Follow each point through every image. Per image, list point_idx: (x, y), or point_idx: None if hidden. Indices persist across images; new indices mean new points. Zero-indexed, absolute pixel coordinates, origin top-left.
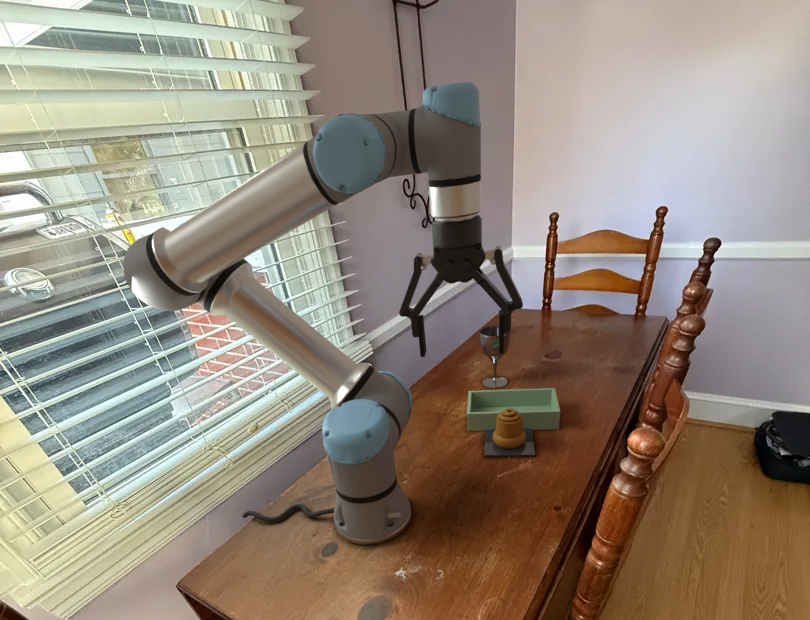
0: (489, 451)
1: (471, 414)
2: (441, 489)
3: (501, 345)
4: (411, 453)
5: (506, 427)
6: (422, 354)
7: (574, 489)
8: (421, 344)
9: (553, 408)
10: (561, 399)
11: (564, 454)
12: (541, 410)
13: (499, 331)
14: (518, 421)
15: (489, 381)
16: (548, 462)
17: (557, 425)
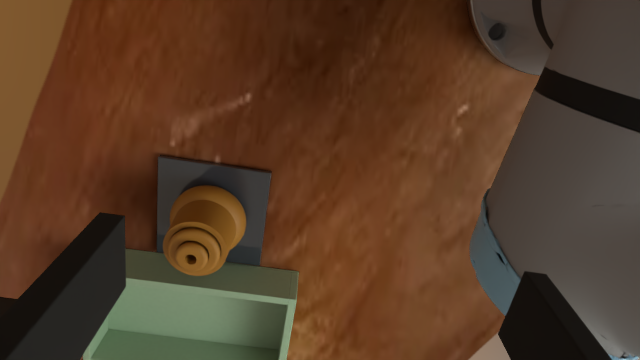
0: (258, 185)
1: (285, 297)
2: (383, 67)
3: (91, 237)
4: (432, 211)
5: (207, 217)
6: (541, 280)
7: (81, 19)
8: (570, 321)
9: None
10: None
11: (93, 153)
12: None
13: (56, 294)
14: (174, 226)
15: None
16: (131, 129)
17: None
